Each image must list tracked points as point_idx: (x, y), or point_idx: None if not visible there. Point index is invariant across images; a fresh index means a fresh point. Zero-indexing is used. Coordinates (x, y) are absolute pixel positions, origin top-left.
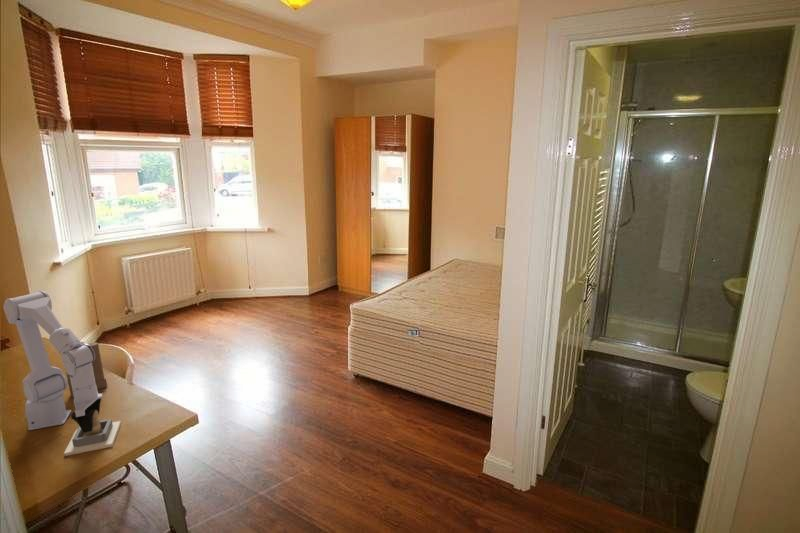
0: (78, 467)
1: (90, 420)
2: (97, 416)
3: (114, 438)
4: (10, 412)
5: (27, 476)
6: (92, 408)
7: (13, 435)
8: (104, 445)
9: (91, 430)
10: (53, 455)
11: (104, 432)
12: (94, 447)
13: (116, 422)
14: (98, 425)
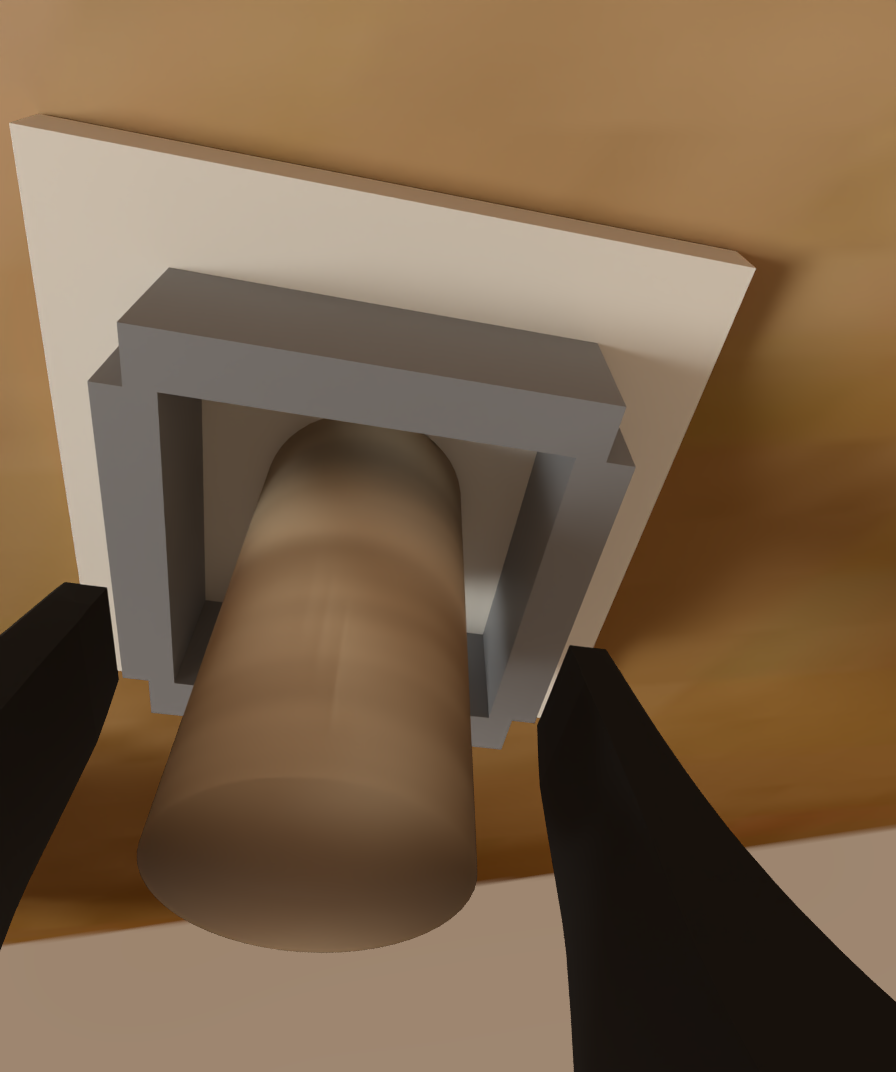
0: (880, 584)
1: (778, 899)
2: (381, 703)
3: (584, 230)
4: None
5: None
6: (4, 826)
7: (16, 940)
8: (705, 371)
9: (608, 658)
10: (478, 752)
11: (583, 427)
12: (661, 484)
13: (55, 203)
14: (416, 556)
